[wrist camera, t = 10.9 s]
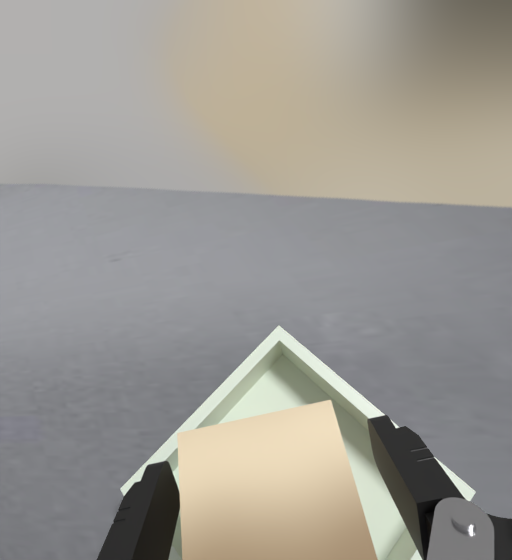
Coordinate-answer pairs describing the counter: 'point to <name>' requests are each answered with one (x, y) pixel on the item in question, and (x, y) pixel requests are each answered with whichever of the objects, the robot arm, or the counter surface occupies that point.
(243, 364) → the bin
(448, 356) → the counter surface
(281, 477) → the beech block
